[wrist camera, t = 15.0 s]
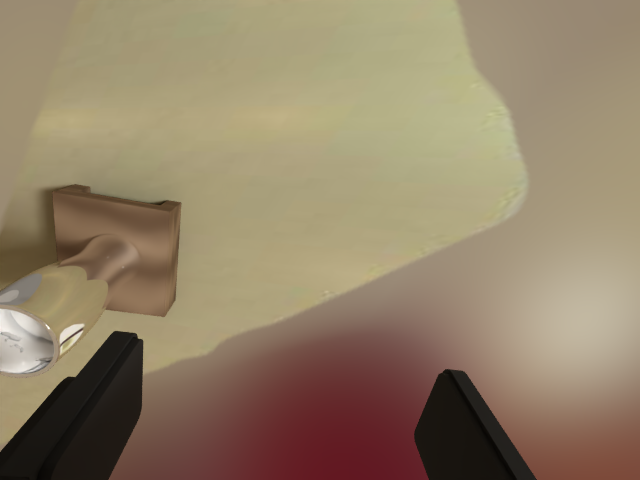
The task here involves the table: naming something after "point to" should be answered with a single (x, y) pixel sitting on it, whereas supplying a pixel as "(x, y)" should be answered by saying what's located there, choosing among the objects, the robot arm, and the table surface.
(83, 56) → the table surface
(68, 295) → the beer glass
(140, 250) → the walnut shelf
